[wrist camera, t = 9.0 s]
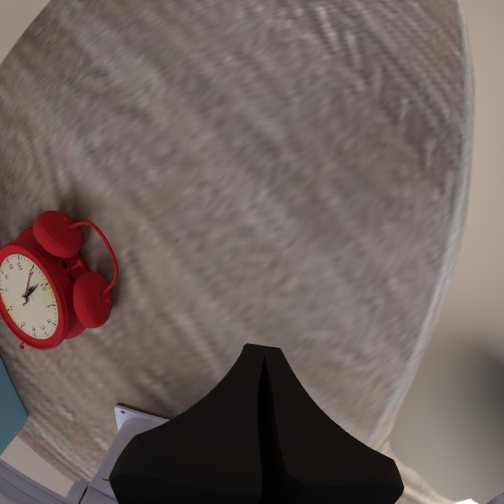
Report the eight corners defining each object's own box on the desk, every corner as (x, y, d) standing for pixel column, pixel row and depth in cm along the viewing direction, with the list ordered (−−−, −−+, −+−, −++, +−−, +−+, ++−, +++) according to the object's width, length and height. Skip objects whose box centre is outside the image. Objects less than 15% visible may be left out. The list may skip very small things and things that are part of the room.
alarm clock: (-27, 271, 19) (21, 193, 13) (17, 248, 24) (90, 175, 19) (25, 366, 21) (104, 351, 15) (63, 334, 27) (155, 301, 21)
